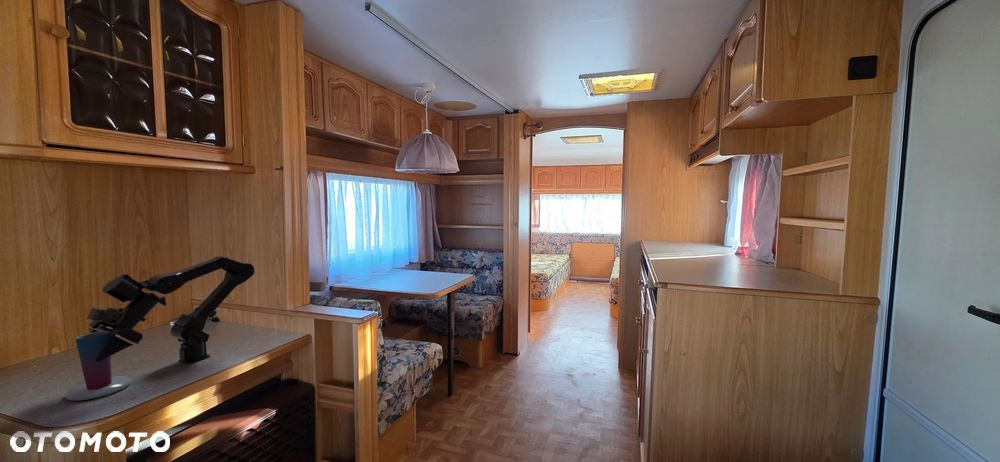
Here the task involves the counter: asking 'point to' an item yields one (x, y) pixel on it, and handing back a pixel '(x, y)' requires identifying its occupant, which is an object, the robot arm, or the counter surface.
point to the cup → (88, 351)
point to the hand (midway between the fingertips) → (89, 358)
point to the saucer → (85, 394)
